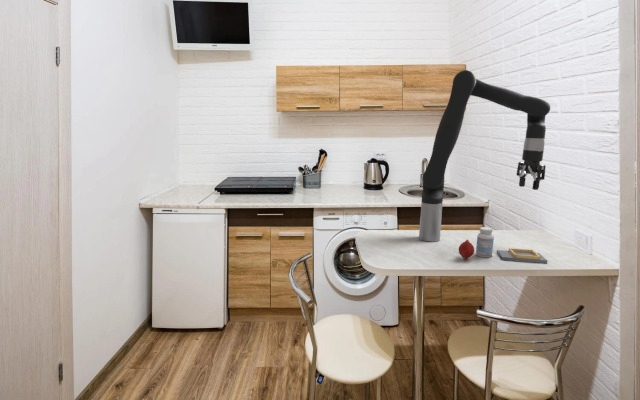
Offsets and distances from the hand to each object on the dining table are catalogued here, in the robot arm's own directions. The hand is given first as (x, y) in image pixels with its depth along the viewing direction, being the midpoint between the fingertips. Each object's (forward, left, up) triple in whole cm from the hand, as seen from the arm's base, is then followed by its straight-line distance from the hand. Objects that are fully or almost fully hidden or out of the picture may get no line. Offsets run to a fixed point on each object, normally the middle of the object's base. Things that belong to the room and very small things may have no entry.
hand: (528, 188), depth 169 cm
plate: (-5, -15, -26) cm, 31 cm away
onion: (-27, -23, -26) cm, 44 cm away
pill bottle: (-19, -16, -26) cm, 36 cm away
